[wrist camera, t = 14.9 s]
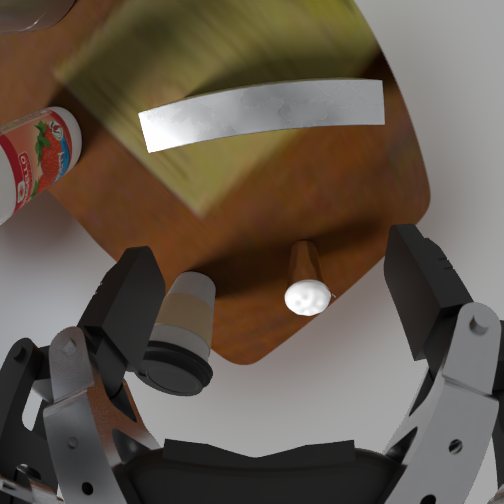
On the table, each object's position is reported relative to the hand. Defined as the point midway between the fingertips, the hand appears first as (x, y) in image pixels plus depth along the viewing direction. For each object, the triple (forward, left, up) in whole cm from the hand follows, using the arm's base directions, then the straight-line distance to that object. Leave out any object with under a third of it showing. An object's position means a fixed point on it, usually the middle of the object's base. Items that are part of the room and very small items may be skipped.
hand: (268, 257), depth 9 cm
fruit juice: (-26, +5, -21) cm, 34 cm away
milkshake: (+2, -14, -21) cm, 25 cm away
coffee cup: (-13, -20, -21) cm, 32 cm away
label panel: (0, +3, -21) cm, 21 cm away
